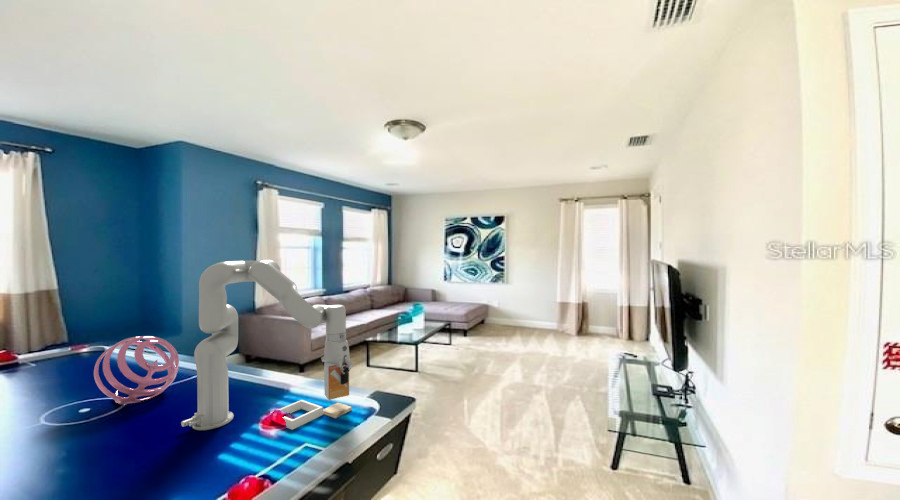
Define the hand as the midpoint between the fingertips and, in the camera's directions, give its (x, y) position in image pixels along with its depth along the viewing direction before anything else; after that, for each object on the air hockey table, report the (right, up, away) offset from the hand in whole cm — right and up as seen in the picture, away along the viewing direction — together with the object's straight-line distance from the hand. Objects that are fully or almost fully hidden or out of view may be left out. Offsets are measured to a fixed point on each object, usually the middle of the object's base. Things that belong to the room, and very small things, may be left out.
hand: (336, 381), depth 136 cm
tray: (-13, -12, -5) cm, 19 cm away
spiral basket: (-89, -13, +14) cm, 91 cm away
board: (0, -12, 0) cm, 12 cm away
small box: (0, -6, 0) cm, 6 cm away
